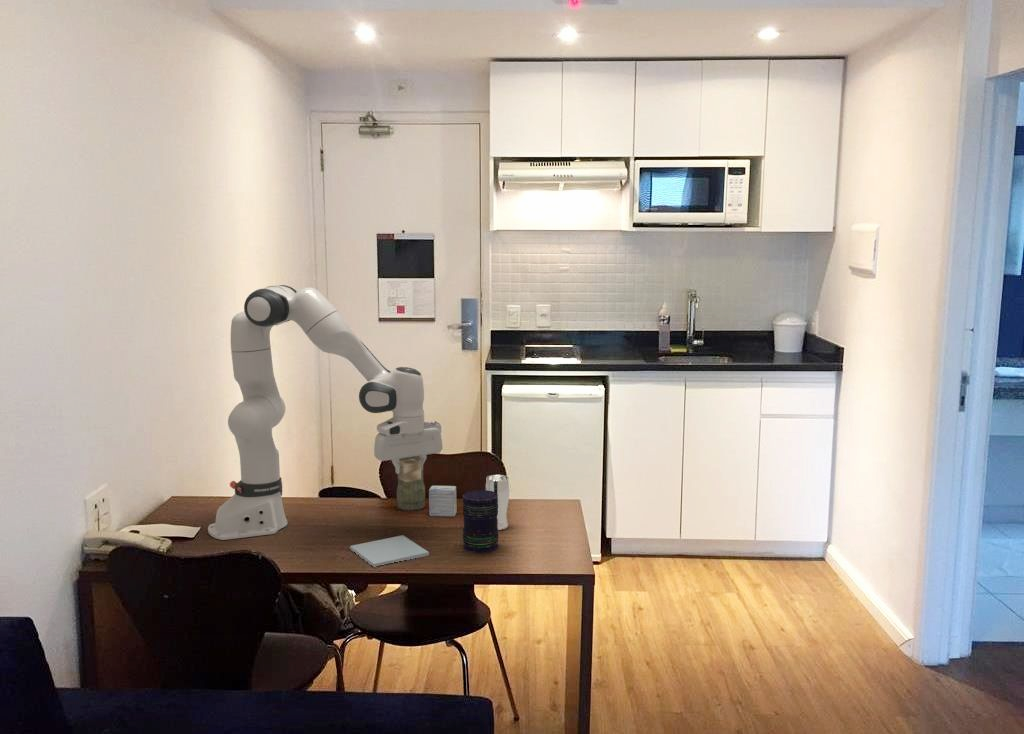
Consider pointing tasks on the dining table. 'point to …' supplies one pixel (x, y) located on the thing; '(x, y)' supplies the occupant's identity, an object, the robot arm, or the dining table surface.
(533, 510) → the dining table surface
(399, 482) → the thermos
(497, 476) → the beer glass
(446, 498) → the medicine box
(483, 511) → the storage jar
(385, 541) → the mat
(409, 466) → the birch cube
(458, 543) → the dining table surface
